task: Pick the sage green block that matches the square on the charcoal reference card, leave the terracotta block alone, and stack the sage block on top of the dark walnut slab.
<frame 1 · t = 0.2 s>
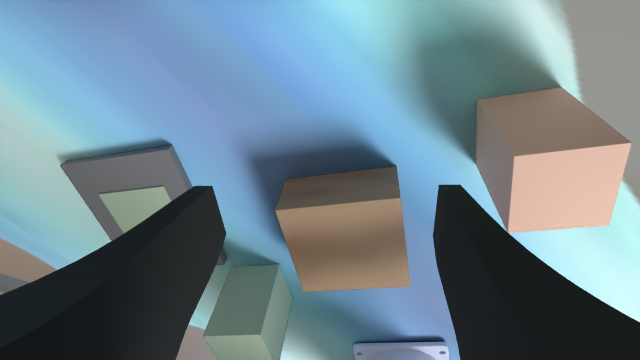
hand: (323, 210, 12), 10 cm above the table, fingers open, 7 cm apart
reference card: (151, 213, 26), on the table
terracotta block: (515, 128, 20), on the table
walnut slab: (348, 213, 25), on the table
sage block: (262, 282, 29), on the table
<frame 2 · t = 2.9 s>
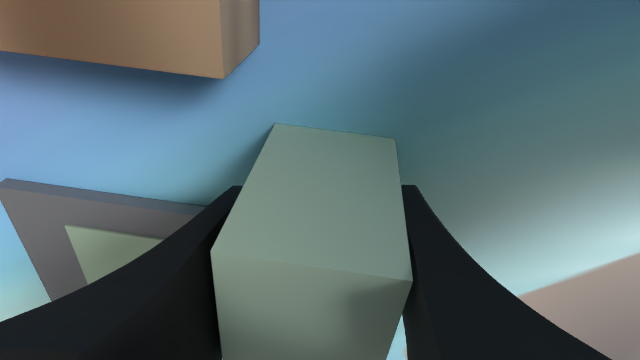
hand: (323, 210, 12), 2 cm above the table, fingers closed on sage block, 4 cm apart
reference card: (143, 264, 17), on the table
sage block: (328, 180, 13), on the table, touching gripper
when the fingers open (6 cm above the table, at t = 10.3 s): sage block drops 1 cm, resting on walnut slab.
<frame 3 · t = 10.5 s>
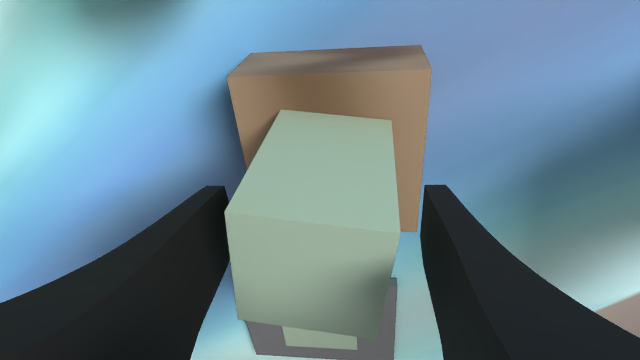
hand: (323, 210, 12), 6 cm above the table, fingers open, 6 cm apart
reference card: (319, 316, 25), on the table
walnut slab: (337, 124, 17), on the table, touching sage block
sage block: (331, 162, 14), point 3 cm above the table, touching walnut slab
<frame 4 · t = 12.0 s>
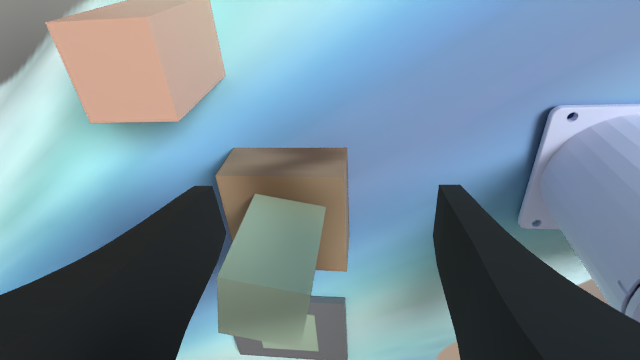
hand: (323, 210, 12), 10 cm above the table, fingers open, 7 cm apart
reference card: (288, 325, 32), on the table
terracotta block: (181, 38, 19), on the table
walnut slab: (295, 192, 24), on the table
sage block: (287, 227, 21), point 3 cm above the table
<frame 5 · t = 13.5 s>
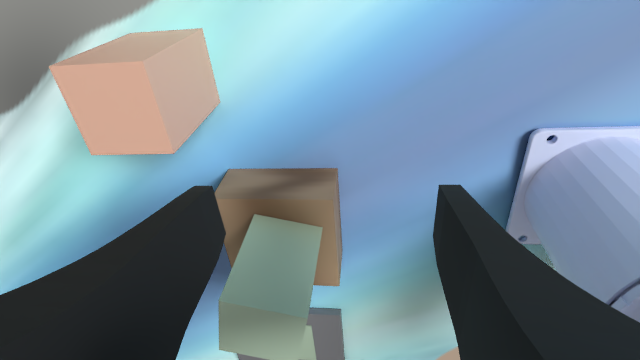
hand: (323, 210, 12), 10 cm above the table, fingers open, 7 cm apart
reference card: (287, 335, 33), on the table
terracotta block: (177, 69, 20), on the table
walnut slab: (289, 209, 25), on the table
sage block: (285, 245, 22), point 3 cm above the table
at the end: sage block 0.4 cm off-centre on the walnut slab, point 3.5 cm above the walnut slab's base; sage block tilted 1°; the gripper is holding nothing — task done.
